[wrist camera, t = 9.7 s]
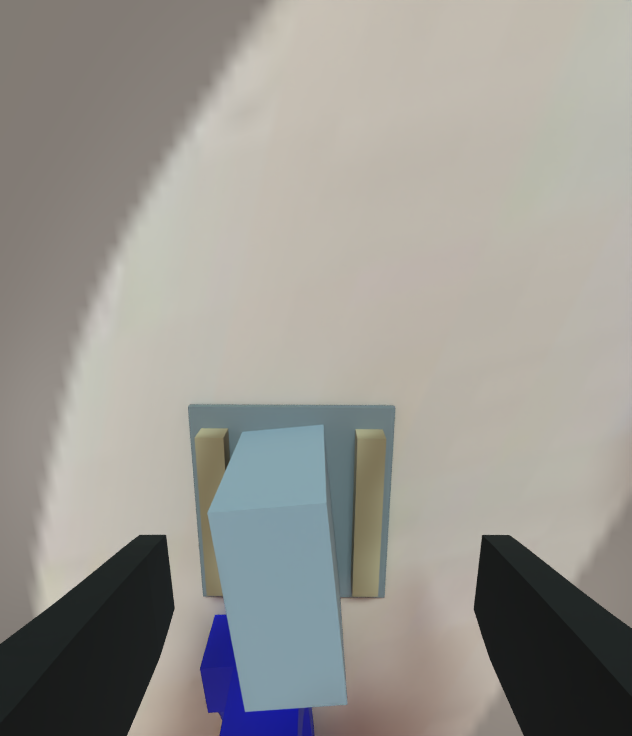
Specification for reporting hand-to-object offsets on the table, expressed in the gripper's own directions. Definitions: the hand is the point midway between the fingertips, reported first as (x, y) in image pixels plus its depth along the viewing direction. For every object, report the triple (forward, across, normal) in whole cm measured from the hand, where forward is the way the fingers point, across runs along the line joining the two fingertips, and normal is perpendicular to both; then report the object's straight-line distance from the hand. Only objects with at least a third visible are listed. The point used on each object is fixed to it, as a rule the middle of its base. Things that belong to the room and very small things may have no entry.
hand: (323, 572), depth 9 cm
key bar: (+9, +1, +4) cm, 10 cm away
